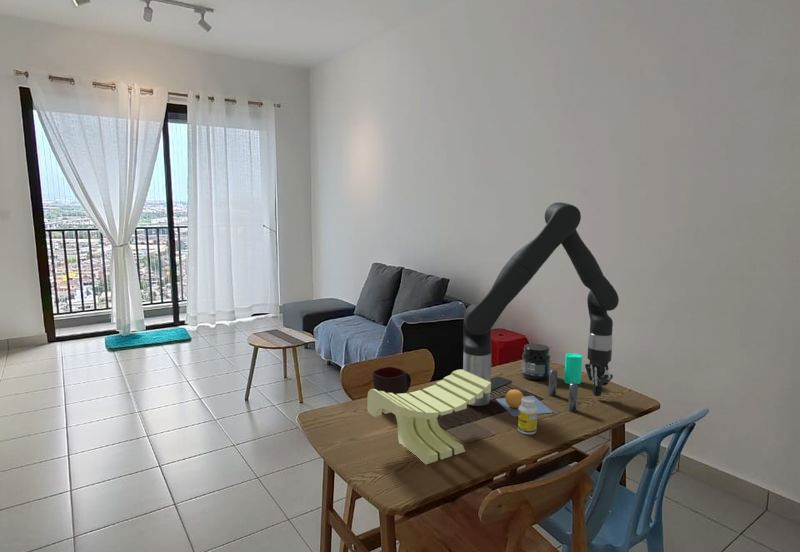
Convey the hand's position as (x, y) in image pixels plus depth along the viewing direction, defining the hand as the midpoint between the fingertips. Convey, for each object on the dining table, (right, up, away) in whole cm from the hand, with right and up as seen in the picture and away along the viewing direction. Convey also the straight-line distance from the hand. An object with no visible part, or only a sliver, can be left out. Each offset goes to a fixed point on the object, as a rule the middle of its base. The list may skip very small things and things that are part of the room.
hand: (596, 395), depth 168 cm
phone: (-33, 0, +15) cm, 36 cm away
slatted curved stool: (-59, -6, -32) cm, 68 cm away
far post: (-14, -1, +4) cm, 15 cm away
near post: (-11, -3, -9) cm, 15 cm away
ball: (-30, +1, -7) cm, 31 cm away
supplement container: (-15, +2, +22) cm, 27 cm away
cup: (-69, -2, -5) cm, 70 cm away
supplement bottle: (-30, -5, -23) cm, 38 cm away
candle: (-2, +1, +17) cm, 17 cm away
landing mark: (-26, -2, -5) cm, 27 cm away
